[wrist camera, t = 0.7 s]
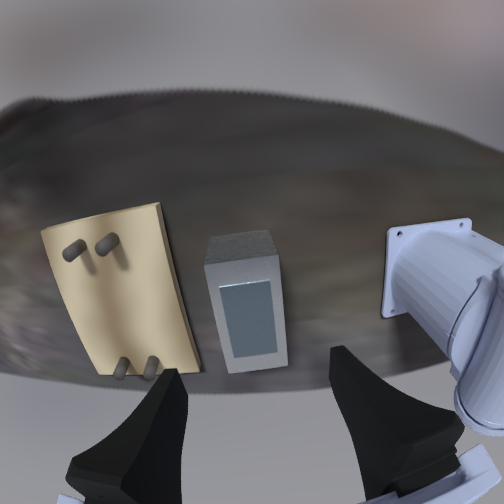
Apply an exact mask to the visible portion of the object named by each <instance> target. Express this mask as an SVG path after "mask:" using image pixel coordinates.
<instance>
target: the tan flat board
mask: <svg viewBox="0 0 504 504" xmlns="http://www.w3.org/2000/svg"><path fill="white" fill-rule="evenodd" d="M41 235H42V238H43V242H44V245H45V249H46V252H47V255H48V258H49V261H50V264H51V267H52V270H53V273H54V276H55V279H56V282H57V284H58V287H59V290H60V292H61V295H62V297H63V300H64V302H65V305H66V307H67V310H68V312H69V314H70V317H71V319H72V321H73V323H74V326H75V328H76V330H77V332H78V334H79V336H80V339H81V341H82V343H83V345H84V347H85V349H86V351H87V353H88V355H89V357H90V358H91V360H92V362H93V364H94V366H95V368H96V370H97V371H98V373H99V374H106V375H113V376H114V378H115V379H117V380H123V379H124V377H125V375H143V377H144V378H145V379H147V380H154V379H155V376H156V374H161V373H162V372H163V370H164V369H168V368H177V370H178V372H179V373H192V372H200V365H201V362H200V359H199V355H198V352H197V349H196V346H195V342H194V339H193V336H192V332H191V329H190V325H189V322H188V318H187V315H186V311H185V307H184V304H183V300H182V296H181V292H180V289H179V285H178V281H177V277H176V273H175V269H174V264H173V260H172V256H171V252H170V247H169V243H168V238H167V234H166V229H165V225H164V220H163V215H162V210H161V205H160V202H159V203H153V204H148V205H143V206H138V207H133V208H128V209H123V210H118V211H114V212H109V213H105V214H100V215H96V216H91V217H87V218H83V219H79V220H75V221H70V222H66V223H62V224H59V225H55V226H51V227H48V228H46V229H44V230H42V231H41Z"/></svg>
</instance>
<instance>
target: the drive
mask: <svg viewBox="0 0 504 504" xmlns="http://www.w3.org/2000/svg"><path fill="white" fill-rule="evenodd" d="M204 269H205V274H206V279H207V283H208V288H209V293H210V297H211V302H212V306H213V311H214V315H215V320H216V324H217V328H218V332H219V337H220V341H221V345H222V349H223V353H224V357H225V361H226V365H227V369H228V373H238V372H246V371H254V370H262V369H269V368H275V367H282V366H288V358H287V345H286V332H285V320H284V308H283V297H282V286H281V275H280V265H279V255H278V252H277V250H276V247H275V245H274V242H273V240H272V237H271V235H270V233H269V230H268V229H266V230H258V231H251V232H244V233H237V234H230V235H223V236H216V237H210V241H209V245H208V249H207V253H206V257H205V262H204Z"/></svg>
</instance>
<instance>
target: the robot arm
mask: <svg viewBox="0 0 504 504" xmlns="http://www.w3.org/2000/svg"><path fill="white" fill-rule="evenodd" d="M460 223H461V225H460ZM471 226H472V222H471V220H470V219H469V218H462V219H455V220H447V221H439V222H431V223H424V224H416V225H409V226H401V227H393V228H390V229H389V230H388V232H387V246H386V265H385V280H384V291H383V301H382V311H381V314H382V315H383V317H385V318H388V317H392V316H395V315H399V314H403V313H407V312H409V314H410V315H411V316H412V317H413V318H414V319H415V320H416V321H417V322H418V323H419V325H420V326H421V327H422V328H423V329H424V330H425V331H426V333H427V334H428V335H429V336H430V337H431V338H432V339H433V341H434V342H435V343H436V344H437V345H438V346H439V348H440V349H441V350H442V351H443V352H444V353H445V355H446V356H447V357H448V358H449V359H450V360H451V363H452V366H451V369H450V373H451V374H452V375H453V377H454V378H455V379H456V381H457V382H458V384H457V385H456V388H455V391H454V405H455V408H456V411H457V413H458V415H459V416H458V415H457V414H456V413H455V411H451V410H447V409H443V408H439V407H435V406H432V405H430V404H427V403H424V402H422V401H419V400H417V399H415V398H413V397H411V396H408V395H406V394H405V393H403V392H401V391H399V390H397V389H396V388H394V387H393V386H391V385H389V384H388V383H387V382H385V381H384V380H382V379H381V378H380V377H378V376H377V375H376V374H375V373H373V372H372V371H371V370H370V369H368V368H367V367H366V366H365V365H364V364H363V363H362V362H360V361H359V360H358V359H357V358H356V357H355V356H354V355H353V354H352V353H351V352H350V351H349V350H348V349H347V348H346V347H345V346H343V345H342V346H337V347H332V348H330V369H329V379H330V383H331V387H332V390H333V393H334V396H335V399H336V401H337V404H338V406H339V408H340V411H341V413H342V415H343V417H344V420H345V422H346V424H347V427H348V429H349V432H350V434H351V437H352V441H353V444H354V448H355V451H356V455H357V459H358V463H359V467H360V471H361V476H362V481H363V486H364V491H365V497H366V501H365V502H362V503H359V504H471V503H473V502H474V501H476V500H477V499H479V498H480V497H481V496H482V495H484V494H485V493H486V492H487V491H489V490H490V489H491V488H492V487H493V486H495V485H496V484H497V483H498V482H499V481H500V480H501V479H502V477H501V475H500V473H499V472H498V470H497V468H496V466H495V465H494V463H493V461H492V460H491V458H490V456H489V455H488V453H487V451H486V450H485V448H484V446H483V445H482V443H479V444H478V445H476V446H475V447H473V448H471V449H470V450H468V451H466V452H465V453H463V454H462V455H460V456H459V457H458V458H457V456H456V455H455V453H456V452H457V449H456V447H455V446H454V445H455V444H456V442H457V441H458V439H459V438H460V437H461V435H462V433H463V432H464V427H465V426H464V424H463V423H462V421H463V422H464V423H465V424H466V426H468V427H469V428H470V429H472V430H473V431H475V432H477V433H479V434H482V435H484V436H490V437H493V436H494V437H500V436H501V437H504V247H503V246H501V245H499V244H497V243H496V242H494V241H492V240H490V239H488V238H486V237H484V236H482V235H480V234H478V233H476V232H474V231H472V230H471ZM399 231H400V234H399V236H397V233H398V232H399ZM391 310H393V311H392V312H391ZM187 415H188V394H187V392H186V389H185V387H184V385H183V382H182V380H181V377H180V375H179V372H178V370H177V368H168V369H164V370H163V372H162V373H161V375H160V376H159V378H158V379H157V381H156V382H155V384H154V385H153V386H152V388H151V389H150V391H149V392H148V393H147V395H146V396H145V397H144V399H143V400H142V401H141V403H140V404H139V405H138V406H137V408H136V409H135V410H134V411H133V412H132V414H131V415H130V416H129V417H128V418H127V419H126V420H125V421H124V422H123V423H122V424H121V425H120V426H119V427H118V428H117V429H115V430H114V431H113V432H112V433H111V434H109V435H108V436H107V437H106V438H105V439H103V440H102V441H100V442H99V443H97V444H96V445H94V446H93V447H91V448H90V449H88V450H86V451H84V452H83V453H81V454H79V455H77V456H75V457H73V458H72V460H71V463H70V466H69V468H68V472H67V474H66V477H65V478H66V481H67V482H68V484H69V485H70V486H71V487H73V488H74V489H75V490H76V491H78V492H79V493H81V494H82V495H83V496H84V497H86V498H85V502H83V501H81V500H79V499H76V498H73V497H70V496H67V495H64V494H60V495H59V498H58V501H57V504H182V494H181V454H182V446H183V441H184V434H185V428H186V422H187ZM459 417H460V418H461V419H460V418H459ZM461 420H462V421H461Z"/></svg>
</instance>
